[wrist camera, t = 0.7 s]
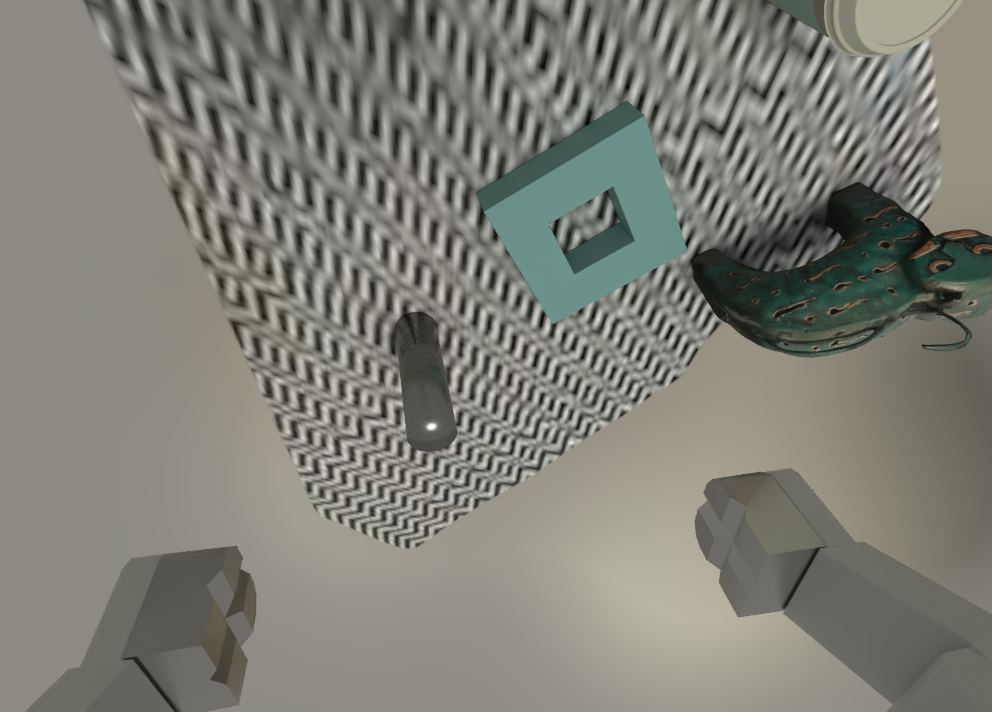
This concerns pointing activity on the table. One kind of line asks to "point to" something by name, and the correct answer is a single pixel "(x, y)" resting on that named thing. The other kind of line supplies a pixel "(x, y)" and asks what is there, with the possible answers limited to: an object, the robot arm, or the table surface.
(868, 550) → the robot arm
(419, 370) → the steel pin
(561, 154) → the socket block
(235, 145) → the table surface
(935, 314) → the ceramic cat
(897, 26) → the coffee cup
